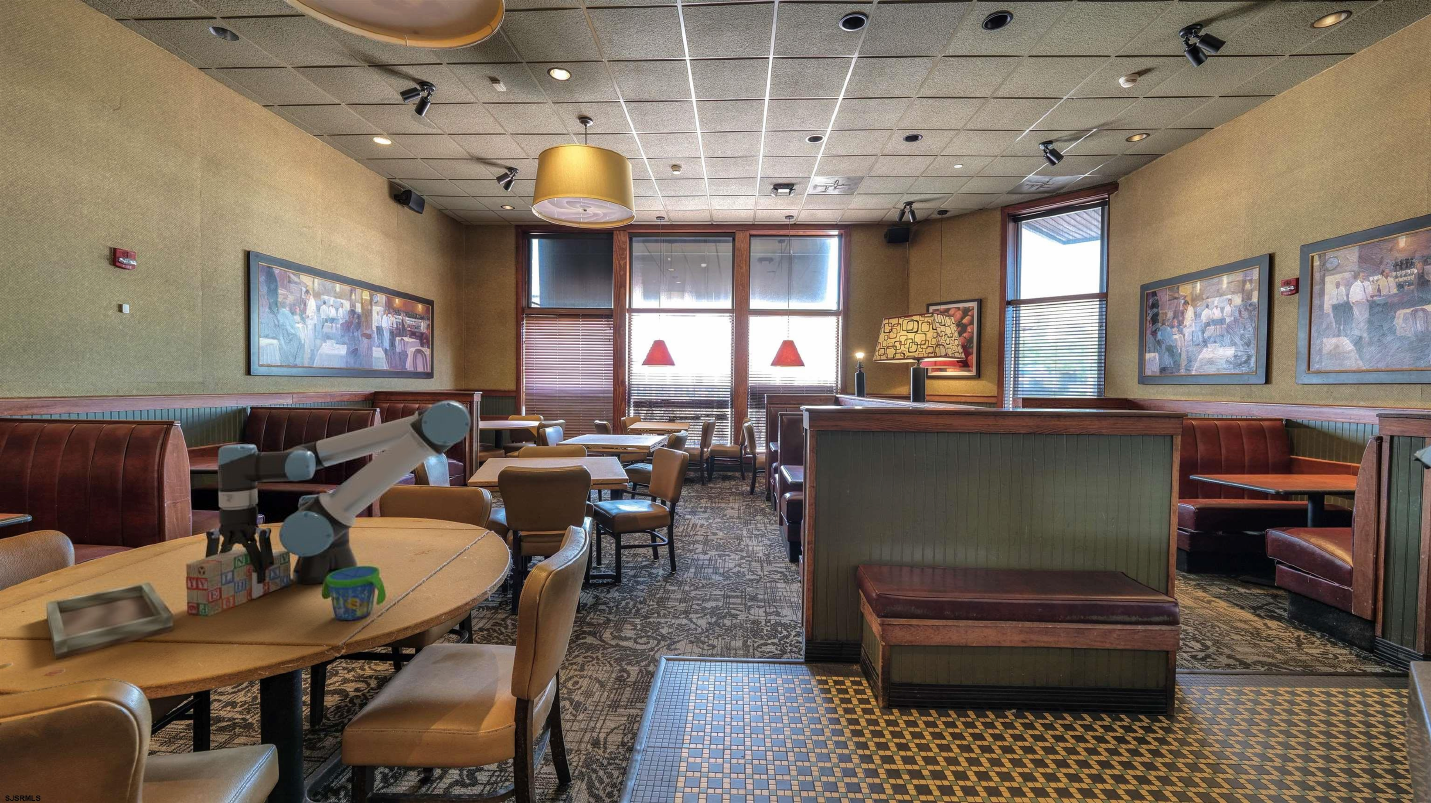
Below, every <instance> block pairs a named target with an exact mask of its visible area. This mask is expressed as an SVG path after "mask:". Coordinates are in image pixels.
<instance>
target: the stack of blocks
mask: <svg viewBox="0 0 1431 803" xmlns="http://www.w3.org/2000/svg"><path fill="white" fill-rule="evenodd" d="M272 552H273V558H274V566H272V567H270V568H268V569H266V581H265V582H264V583H263V594H262V595H260V596H264V595H266V594H269V593H272V592H273V591H276V590H279V589H282V588H284V587H287V586H289V585H291V584H292V583H291V582H292V580H291V579H292V578H291V575H292V574H291V571H292V570H291V553H290V552H288V551H287V550H282V549H272ZM185 570H186V576H185V586H186V587H185V588H186V610H187V611H186V612H187V615H192V616H203V617H210V616H213V615H215V614H218V613H220V612H224V611H226V610H229V609H231V608H234V607H236V606H239V605H242V604H244V603H246V602H248V601H251V600H253V599H255V598H252V572H253V571H255V568H254V566H253V564H252V562H251V560H250V557H249V555H248V553H247V551H246V549H245V548H235V549H232V550H231V551H229V552H226V553H220V554H219V553H218V554H217V555H214V556H211V557H207V558H205V557H204V558H201V559H197V560H194V561H190V562H187V563H186V564H185ZM260 596H259V597H260Z"/></svg>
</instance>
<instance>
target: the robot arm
mask: <svg viewBox="0 0 1431 803" xmlns="http://www.w3.org/2000/svg"><path fill="white" fill-rule="evenodd" d="M471 424H472V416H471V413H470V411H469V409H468V407H466V405H465V404H464V403H461V402H460V401H457V400H454V399H452V400H451V399H446V400H445V399H444V400H442V401H439V402H437V403H434V404H432V405H431V406H429V407H426V408H424V409H420V410H416V411H415V413H414V415H410V416H407V417H403V418H400V419H399V418H398V419H396V420H395V419H394V420H392V421H388V422H385V423H384V422H383V423H380V424H376V425H373V426H369V427H366V428H362V429H358V430H354V431H350V432H346V433H342V434H339V435H335V436H332V437H329V438H324V439H320V440H318V441H313V442H309V443H306V444H300V445H295V446H293V447H292V448H289V449H287V450H284V451H270V452H269V451H268V452H265V451H264V452H262V451H258V448H257V446H256V444H252V443H251V444H250V443H249V444H248V443H244V444H243V443H242V444H240V443H239V444H228V445H224V446H221V447H220V448H219V449H218V453H217V454H218V457H217V465H216V466H217V479H218V507H219V508H220V509H219V510H218V524H220V526H219V528H214V529H210V530H208V531H206V532H205V536H206V542H207V543H206V549H205V557H204V558H207V557H211V556H214V555H217V554H220V553H226V552H229V551H231V550H233V547H234V546H235V545H236V544H238V545H241V546H242V547H243V549H246V551H247V553H248V555H249V557H250V560H251V562H252V564H253V566H254V568H255V571H253V572H252V598H254V599H257V598H259V597H260V595H261V596H263V595H262V594H263V583H264V582H265V581H266V569H268V568H270V567H272V566H274V558H273V552H272V550H273V548H272V541H271V534H272V528H271V527H267V528H263V527H259V526H260V525H259V524H258V519H259V507H258V506H257V504H258V503H259V502H258V501H259V499H258V496H259V495H258V483H265V482H288V481H289V482H291V481H292V482H299V481H306V480H311V479H312V478H313V476H314V474H315V472H316V470H319V469H323V468H325V467H329V466H333V465H337V464H339V463H344V462H346V461H350V460H354V459H358V458H361V457H364V456H368V455H371V454H372V455H373V454H376V453H379V452H381V453H380V454H378V455H377V456H376V457H375V458H373V459H372V460H371V461H369V462H368V463H367V464H365V465H364V467H362V468H361V469H359V470H358V471H356V472H355V473H354V474H353V475H352V476H350V477H349V478H348V479H347V480H346V481H344V482H343V483H342V484H340V485H339V486H337V487H336V488H335V489H334V490H332V491H331V492H320V493H319V494H312V495H311V494H310V495H303V496H301V497H300V498H299V501H298V504H297V506H298V510H297V511H295V512H294V513H292V514H290V515H289V516H287V517H286V518H285V519H284V521H283V523H281V526H280V528H279V532H278V534H279V535H278V538H279V541H280V544H281V546H282V547H283V549H285V551H288V552H290V554H291V555H294V556H296V557H297V559H296V562H295V565H294V567H293V569H292V581H293V583H296V584H300V585H301V584H303V585H314V584H323V583H324V580H325V578H326V577H327V576H328V575H329V574H330V573H332V572H335V571H337V570H341V569H344V568H350V567H357V566H358V563H357V560H356V557H355V555H354V552H353V550H352V548H351V545H350V528H352V526H354V525H355V522H356V516H357V515H358V514H360V513H361V512H362V511H364V510H365V509H366V508H368V506H370V505H371V504H372V503H374V502H375V501H376V500H378V499H379V498H380V497H381V496H382V495H383V494H385V493H386V492H387V491H388V490H389V489H391V488H392V487H394V486H395V485H396V484H397V483H398V482H400V481H401V480H402V479H404V477H405V478H406V476H407V475H408V474H410V473H411V472H412V471H413V470H415V469H416V468H418V466H420V465H421V464H422V463H423V462H425V461H426V460H428V458H430V457H431V456H436V457H437V456H438V457H440V456H441V455H442V454H443V453H445V452H446V451H447V450H449V449H450V448H451V447H452V446H454V445H455V444H457V443H460V442H461V441H462V440H463V439H464V438H465V437H466V436H467V435H468V434H469V432H470V429H471V426H472V425H471ZM256 534H257V535H256ZM221 537H222V538H223V540H222V542H221ZM256 537H257V538H258V540H257V538H256ZM220 543H221V544H220Z"/></svg>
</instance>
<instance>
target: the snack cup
mask: <svg viewBox="0 0 1431 803" xmlns="http://www.w3.org/2000/svg"><path fill="white" fill-rule="evenodd" d="M321 588H322V589H321V598H322V599H323V600H328V599H330V600H331V606H332V609H333V615H334V616H333V617H334V619H335V620H340V621H353V620H358V619H361V618H364V617H367V616H369V615H370V614H371V612H372V611H373V608H374V602H375V595H376V590H377V597H376V602H375V605H377V606H380V605H381V604H383V603H384V602H385V600H386V597H387V594H386V590H385V585H384V582H383V580H382V578H381V577H380V569H379V568H378V567H376V566H371V565H370V566H369V565H359V566H358V565H357V567H350V568H344V569H341V570H337V571H335V572H332V573H330V574H329V575H328V576H327V577H326V578H325V580H324V583H322V587H321Z"/></svg>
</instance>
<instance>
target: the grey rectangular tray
mask: <svg viewBox="0 0 1431 803" xmlns="http://www.w3.org/2000/svg"><path fill="white" fill-rule="evenodd" d="M45 603H46V619H47V626H48V630H50V631H49V635H50V640H51V644H52V649H53V652H54V658H55V660H60V659H64V657H65V658H68V656H69V657H71V656H70V655H73V656H76V655H80V654H85V653H87V652H88V653H89V652H93V651H98V650H100V649H104V648H108V647H112V646H113V647H114V646H117V645H120V644H121V645H122V644H125V643H129V642H134V641H137V640H140V639H145V638H149V637H154V636H157V635H162V634H165V633H168V632H172V631H174V616H173V615H174V614H173V613H172V611H171V610H170V608H169V607H168V606H167V604H166V603H165V601H164V600H163V599H162V598H161V596H160V595H159V594H158V592H157V591H156V589H155V588H154V587H153V585H152V584H151V583H150V582H145V583H140V584H139V583H138V584H135V585H129V586H123V587H120V588H119V587H118V588H114V589H109V590H104V591H98V592H93V593H89V594H84V595H83V594H81V595H77V596H73V597H67V598H62V599H57V600H52V601H47V602H45Z"/></svg>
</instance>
